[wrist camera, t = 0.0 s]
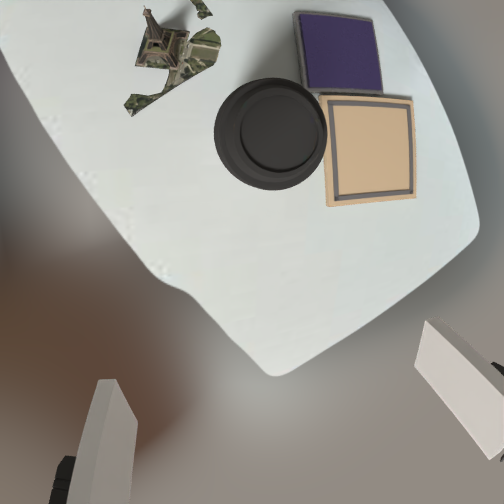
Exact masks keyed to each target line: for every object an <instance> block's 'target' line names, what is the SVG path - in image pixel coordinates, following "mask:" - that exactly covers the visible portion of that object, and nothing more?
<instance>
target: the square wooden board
mask: <svg viewBox="0 0 504 504" xmlns="http://www.w3.org/2000/svg"><path fill="white" fill-rule="evenodd" d="M318 98H319V105H320V106H321V108H322V110H323V113H324V115H325V119H326V123H327V131H328V137H327V145H326V149H325V153H324V171H325V189H326V206H328V207H334V206H343V205H352V204H361V203H371V202H381V201H391V200H401V199H412V198H416V139H415V121H414V108H413V101H410V100H401V99H390V98H377V97H361V96H331V95H321V96H318Z"/></svg>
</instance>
